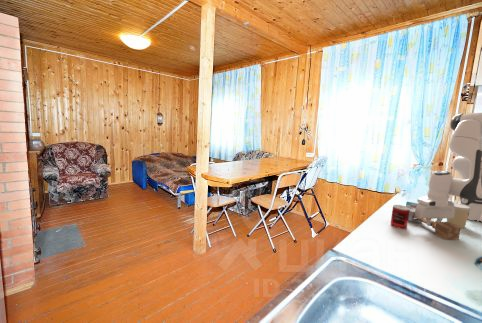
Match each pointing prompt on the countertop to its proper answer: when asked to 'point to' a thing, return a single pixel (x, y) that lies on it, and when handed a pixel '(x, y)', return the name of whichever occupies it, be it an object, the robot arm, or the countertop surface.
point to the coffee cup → (460, 215)
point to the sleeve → (411, 217)
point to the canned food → (400, 216)
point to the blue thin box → (411, 205)
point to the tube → (426, 221)
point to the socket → (447, 230)
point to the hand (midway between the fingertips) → (432, 225)
